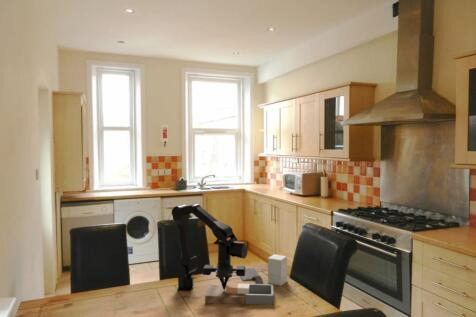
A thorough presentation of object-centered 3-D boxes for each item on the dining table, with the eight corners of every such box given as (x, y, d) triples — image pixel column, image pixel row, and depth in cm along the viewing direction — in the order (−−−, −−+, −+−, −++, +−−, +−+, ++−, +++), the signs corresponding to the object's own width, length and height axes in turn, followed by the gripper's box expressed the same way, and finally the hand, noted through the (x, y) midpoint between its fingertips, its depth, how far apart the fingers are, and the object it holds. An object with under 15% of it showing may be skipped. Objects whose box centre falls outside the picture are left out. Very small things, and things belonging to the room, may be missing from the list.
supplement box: (287, 281, 179) (287, 256, 179) (281, 286, 173) (281, 260, 172) (274, 278, 183) (274, 253, 183) (267, 283, 177) (267, 257, 176)
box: (245, 303, 154) (245, 294, 154) (247, 292, 166) (246, 283, 166) (273, 304, 153) (273, 295, 153) (273, 292, 165) (273, 284, 165)
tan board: (205, 302, 156) (205, 295, 156) (209, 291, 168) (209, 284, 167) (244, 303, 154) (244, 297, 154) (245, 292, 166) (245, 285, 166)
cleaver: (267, 290, 168) (267, 286, 168) (247, 292, 167) (247, 287, 167) (254, 269, 198) (254, 265, 197) (236, 270, 196) (236, 266, 196)
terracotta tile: (226, 293, 158) (226, 287, 158) (227, 288, 163) (227, 283, 163) (237, 293, 158) (237, 287, 158) (238, 288, 163) (238, 283, 163)
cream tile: (237, 293, 158) (237, 287, 158) (238, 288, 163) (238, 283, 163) (248, 293, 157) (248, 288, 157) (249, 289, 162) (249, 283, 162)
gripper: (200, 260, 153) (200, 296, 154) (244, 261, 151) (244, 297, 152) (204, 252, 164) (204, 285, 165) (245, 253, 162) (245, 287, 163)
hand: (224, 289), depth 161 cm, fingers closed
